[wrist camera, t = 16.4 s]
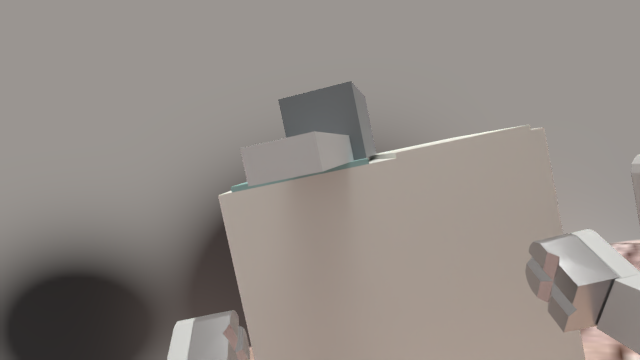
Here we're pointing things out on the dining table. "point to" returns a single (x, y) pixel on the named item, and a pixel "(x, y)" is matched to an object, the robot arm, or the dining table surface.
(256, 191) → the stand
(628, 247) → the dining table surface
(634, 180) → the rounded white slab
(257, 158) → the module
